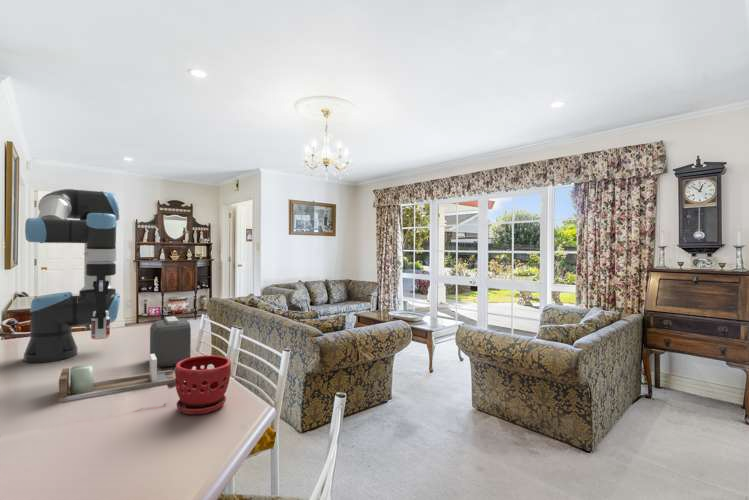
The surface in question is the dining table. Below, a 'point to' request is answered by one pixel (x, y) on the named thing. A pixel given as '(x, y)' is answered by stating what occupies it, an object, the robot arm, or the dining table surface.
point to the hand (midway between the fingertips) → (100, 336)
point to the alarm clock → (170, 340)
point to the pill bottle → (106, 326)
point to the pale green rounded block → (81, 379)
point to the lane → (111, 385)
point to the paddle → (155, 370)
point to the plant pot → (202, 384)
